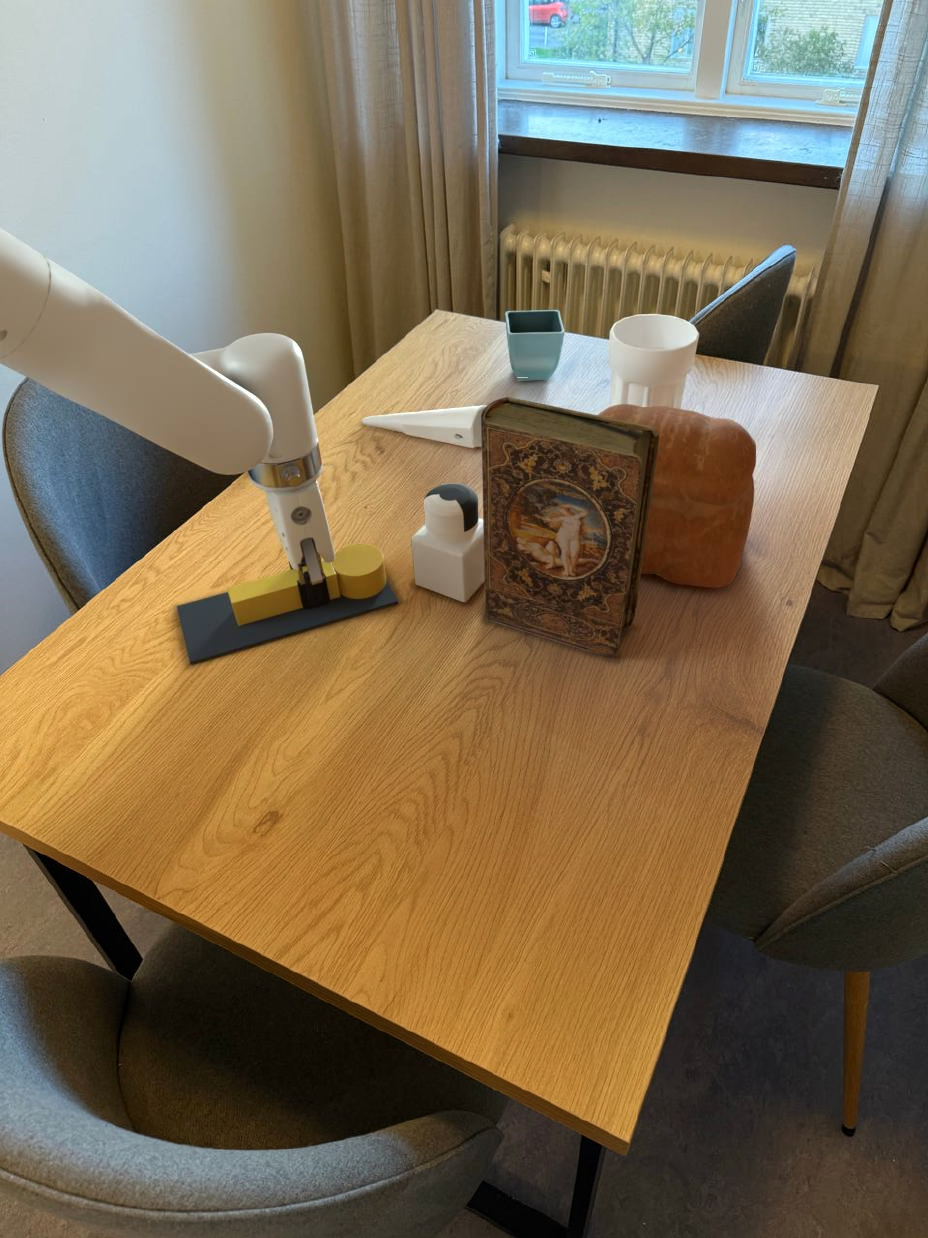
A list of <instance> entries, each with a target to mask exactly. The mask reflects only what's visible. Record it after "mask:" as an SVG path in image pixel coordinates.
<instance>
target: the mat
mask: <svg viewBox="0 0 928 1238" xmlns="http://www.w3.org/2000/svg"><path fill="white" fill-rule="evenodd" d="M331 564H332V562H331ZM398 604H399V599H398V598H397V596H396V594H395V592H394V590H393V587H392V586H391V584H390V582H389V581H388V579H387V578H386V584H385V587H384V588H383V589H382V590H381V591H380V592H379V593H378V594H376V595H374V596H372V597H369V598H364V599H352V598H348V597H345V596H343V595H342V594H340V597H338V598H334V599H331V600H330V602H328V603H326V604H322V605H319V606H315V607H312V608H308V609H304V608H300V609H296V610H293V611H289V612H286V613H282V614H279V615H275V616H272V617H268V618H265V619H261V620H258V621H254V622H251V623H247V624H244V625H241V626H238V623H237V620H236V616H235V613H234V610H233V607H232V603H231V600H230V597H229V593H228V591H226V592H223V593H219V594H216V595H212V596H208V597H205V598H201V599H198V600H197V599H196V600H194V601H190V602H187V603H182V604H180V605H176V610H177V615H178V618H179V623H180V626H181V631H182V635H183V640H184V644H185V647H186V652H187V657H188V662H189V664H190V665H194V664H197V663H200V662H204V661H207V660H211V659H214V658H217V657H222V656H225V655H228V654H231V653H235V652H238V651H241V650H242V651H243V650H245V649H249V648H252V647H256V646H258V645H262V644H265V643H270V642H272V641H275V640H279V639H283V638H286V637H289V636H293V635H296V634H300V633H303V632H306V631H309V630H313V629H317V628H320V627H323V626H327V625H329V624H334V623H337V622H341V621H344V620H348V619H350V618H355V617H357V616H360V615H364V614H367V613H371V612H374V611H377V610H380V609H384V608H389V607H392V606H394V605H395V606H396V605H398Z"/></svg>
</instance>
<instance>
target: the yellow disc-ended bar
mask: <svg viewBox="0 0 928 1238" xmlns="http://www.w3.org/2000/svg"><path fill="white" fill-rule="evenodd" d="M321 562H322V566H323V571H324V574H325V576H326V581H327V586H328V591H329V597H330V600H331V599H334V598H338V597H340V594H342V595H343V596H345V597H348V598H352V599H364V598H369V597H372V596H374V595H376V594H378V593H379V592H380V591H381V590H382V589H383V588H384V587H385V584H386V579H387V574H386V573H387V572H386V565H385V557H384V554H383V552H382V550H381V549H379V548H378V547H377V546H374V545H372V544H369V543H368V544H367V543H354V544H350V545H347V546H344V547H342V548H340V549H339V550H338V551H336V552H335V559H334V561H333V562H328V563H326V562H325V561H324V560H321ZM331 563H332V564H331ZM302 569H303V573H304V572H305V571H307V567H306V566H304V567H302ZM297 580H299V578H298V573H297V570H295V569H292V570H291V569H289V570H286V571H281V572H278V573H274V574H271V575H267V576H263V577H260V578H255V579H252V580H249V581H244V582H241V583H238V584H234V585H230V586H227V587H226V591H227V592H228V593H229V597H230V600H231V603H232V607H233V610H234V613H235V616H236V620H237V623H238V626H241V625H244V624H247V623H251V622H254V621H258V620H261V619H265V618H268V617H272V616H275V615H279V614H282V613H286V612H289V611H293V610H296V609H300V608H303V606H302V602H301V598H300V593H299V589H298V585H297Z"/></svg>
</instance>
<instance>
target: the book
mask: <svg viewBox="0 0 928 1238" xmlns="http://www.w3.org/2000/svg"><path fill="white" fill-rule="evenodd" d="M486 406H487V407H486V408H485V409H484V410H483V411H482V414H481V437H482V446H481V473H482V474H481V476H482V477H481V479H482V480H481V481H482V483H481V484H482V519H483V529H484V575H485V581H484V612H485V613H484V614H485V617H486V619H487V621H489V622H492V623H496V624H499V625H501V626H505V627H508V628H512V629H515V630H517V631H521V632H525V633H528V634H531V635H534V636H537V637H540V638H544V639H547V640H551V641H553V642H557V643H560V644H564V645H566V646H568V647H569V646H570V647H573V648H577V649H579V650H582V651H586V652H589V653H592V654H593V653H594V654H597V655H600V656H604V657H607V658H615V657H616V656H617V654H618V653H619V650H620V647H621V642H622V635H623V630H624V629H626V628H629V627H631V626H632V624H633V623H634V620H635V617H636V612H637V605H638V598H639V592H640V591H639V590H640V584H641V576H642V574H641V570H642V563H643V555H644V548H645V541H646V533H647V526H648V519H649V512H650V504H651V497H652V490H653V482H654V475H655V468H656V460H657V453H658V445H659V432H658V430H657V429H656V428H655V427H652V426H646V425H642V424H637V423H632V422H627V421H622V420H617V419H613V418H608V417H603V416H598V414H592V413H588V412H583V411H578V410H573V409H568V408H563V407H560V406H554V405H549V404H544V403H540V402H535V401H530V400H525V399H520V398H515V397H510V396H507V397H501V398H498V399H495V400H493V401H492V402H490V403H489V404H487V405H486Z"/></svg>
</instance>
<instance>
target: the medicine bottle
mask: <svg viewBox="0 0 928 1238" xmlns="http://www.w3.org/2000/svg"><path fill="white" fill-rule="evenodd" d="M423 510H424V522H425V523H424V524H423V525H422V526H421V527H420V528H419V529H418V530H417V531H416V532H415V533H414V534H413V535H412V536H411V538H410V545H411V556H412V565H413V576H414V583H415V585H416V586H418V587H421V588H424V589H427V590H428V591H432V592H435V593H437V594H440V595H442V596H444V597H447V598H450V599H453V600H456V601H459V602H462V603H466V602H468V601H469V600H470V598H472V596H473V595H474V594H475V593H476V592H477V591H478V590H479V588H480V587H481V586H482V585H483V583H485V575H484V529H483V518H480V516H479V514H480V513H479V496H478V494H477V493H476V491H474V489H472V488H471V487H469V486H467V485H465V484H462V483H454V482H453V483H452V482H451V483H443V484H439V485H437V486H434V487H433V488H432V489H430V490H429V491H428V492H427V493H426V494H425V496H424V497H423Z"/></svg>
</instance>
